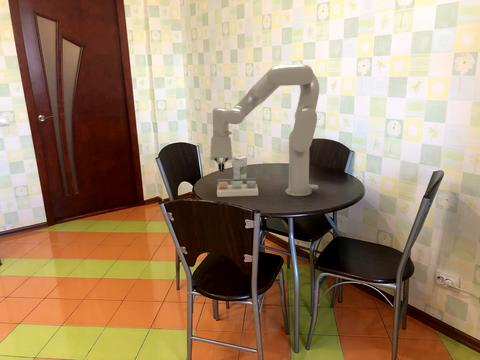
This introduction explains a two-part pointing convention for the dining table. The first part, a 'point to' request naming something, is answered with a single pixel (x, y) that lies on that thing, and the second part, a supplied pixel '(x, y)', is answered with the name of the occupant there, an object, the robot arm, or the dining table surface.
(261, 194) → the dining table surface
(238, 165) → the syrup box
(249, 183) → the grey key
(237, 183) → the sage key
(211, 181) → the dining table surface
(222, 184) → the terracotta key
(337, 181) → the dining table surface
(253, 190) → the keypad
